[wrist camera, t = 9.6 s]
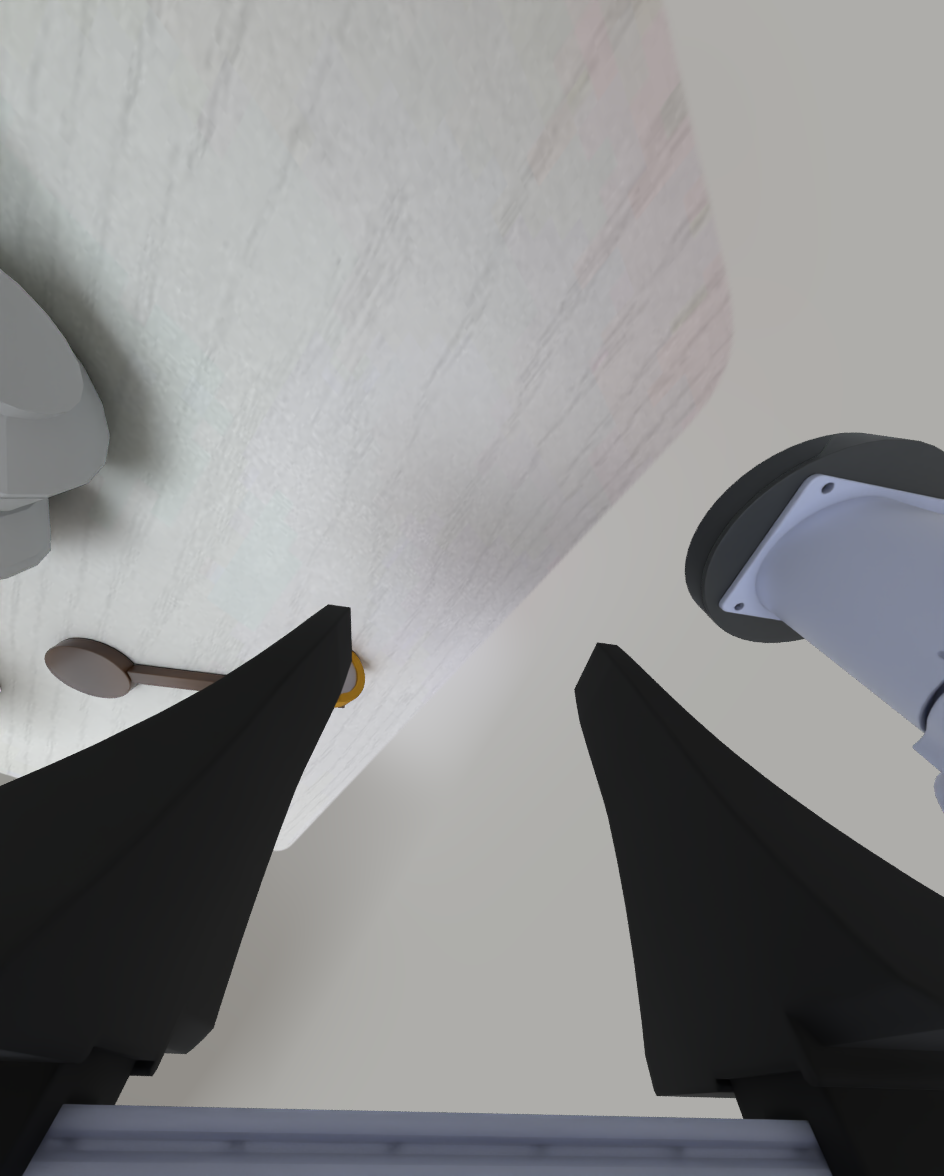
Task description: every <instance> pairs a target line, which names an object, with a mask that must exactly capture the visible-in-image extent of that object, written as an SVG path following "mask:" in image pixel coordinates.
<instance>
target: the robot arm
mask: <svg viewBox="0 0 944 1176" xmlns="http://www.w3.org/2000/svg"><path fill="white" fill-rule="evenodd" d="M826 484H827V485H826ZM825 485H826V487H825V488H824V489H823V490H822V488H823V487H824V486H825ZM737 604H738V605H737ZM719 607H720V608H721V609H722V610H723V611H726V612H731V613H737V614H744V615H750V616H756V617H762V618H769V619H775V620H781V621H783V622H784V623H786V624H787V625H788V626H789V627H791V628H792V629H793V630H794V631H796V632H797V633H798V634H799V635H801V636H802V637H803V638H805V639H806V640H807V641H808V642H810V643H811V644H812V645H813V646H815V647H816V648H817V649H819V650H820V651H821V652H823V653H824V654H825V655H826V656H827V657H829V658H830V659H831V660H832V661H834V662H835V663H836V664H837V665H839V666H840V667H841V668H842V669H844V670H845V671H846V672H848V673H849V674H850V675H851V676H853V677H854V678H855V679H856V680H858V681H859V682H860V683H861V684H863V685H864V686H865V687H867V688H868V689H869V690H870V691H872V692H873V693H874V694H875V695H877V696H878V697H879V698H881V699H882V700H883V701H884V702H886V703H887V704H888V705H889V706H891V707H892V708H893V709H894V710H896V711H897V712H898V713H900V714H901V715H902V716H903V717H904V718H906V719H907V720H908V721H910V722H911V723H912V724H913V725H915V726H916V727H917V728H918V729H920V730H921V731H922V732H924V735H923V736H922V738H921V739H920V740H919V741H918V742H917V743H915V744H914V745H913V749H914V750H916V751H917V752H918V753H919V754H920V755H922V756H923V757H924V758H925V759H926V760H927V761H929V762H930V763H931V764H932V765H934V766H935V767H936V768H937V769H938V770H939V771H940V772H941V773H940V774H939V775H938V776H937V777H936V780H935V783H934V789H935V796H936V798H937V800H938V803H939V805H940V807H941V809H942V811H943V812H944V499H939V498H935V497H930V496H925V495H920V494H915V493H910V492H906V491H901V490H896V489H891V488H886V487H881V486H877V485H872V484H867V483H862V482H857V481H852V480H848V479H843V478H838V477H833V476H828V475H823V474H814V475H811V476H809V477H808V478H807V479H806V480H805V481H804V482H803V483H802V484H801V486H800V487H799V489H798V490H797V492H796V493H795V494H794V496H793V497H792V499H791V500H790V502H789V503H788V504H787V506H786V507H785V509H784V510H783V512H782V513H781V514H780V516H779V517H778V519H777V520H776V522H775V523H774V524H773V526H772V527H771V529H770V530H769V532H768V533H767V534H766V536H765V537H764V539H763V540H762V542H761V543H760V544H759V546H758V547H757V549H756V550H755V552H754V553H753V554H752V556H751V557H750V559H749V560H748V561H747V563H746V564H745V566H744V567H743V569H742V570H741V571H740V573H739V574H738V576H737V577H736V579H735V580H734V581H733V583H732V584H731V586H730V587H729V589H728V590H727V591H726V593H725V594H724V596H723V597H722V599H721V600H720V602H719ZM351 662H352V641H351V608H350V607H343V606H336V605H329V604H328V605H327V606H325V607H324V608H323V609H321V610H320V611H318V612H317V613H316V614H314V615H313V616H311V617H310V618H309V619H307V620H306V621H305V622H303V623H302V624H301V625H299V626H298V627H297V628H295V629H294V630H292V631H291V632H290V633H288V634H287V635H286V636H284V637H283V638H281V639H280V640H278V641H277V642H276V643H274V644H273V645H271V646H270V647H268V648H267V649H266V650H264V651H263V652H261V653H260V654H258V655H257V656H255V657H254V658H252V659H251V660H249V661H248V662H246V663H245V664H243V665H241V666H240V667H238V668H237V669H235V670H234V671H232V672H231V673H229V674H227V675H226V676H224V677H223V678H221V679H219V680H218V681H216V682H214V683H213V684H211V685H209V686H207V687H206V688H204V689H202V690H201V691H199V692H197V693H195V694H193V695H192V696H190V697H188V698H186V699H184V700H182V701H181V702H179V703H177V704H175V705H173V706H172V707H170V708H168V709H166V710H164V711H162V712H160V713H158V714H156V715H154V716H152V717H150V718H148V719H146V720H144V721H142V722H140V723H138V724H136V725H134V726H132V727H130V728H128V729H126V730H124V731H121V732H119V733H117V734H115V735H113V736H111V737H109V738H107V739H105V740H103V741H101V742H99V743H97V744H95V745H93V746H91V747H88V748H86V749H84V750H82V751H80V752H77V753H75V754H73V755H71V756H68V757H66V758H64V759H62V760H59V761H57V762H55V763H53V764H51V765H48V766H46V767H44V768H41V769H39V770H37V771H34V772H32V773H30V774H27V775H25V776H23V777H20V778H18V779H15V780H13V781H11V782H8V783H6V784H4V785H1V786H0V1176H944V897H943V896H941V895H939V894H938V893H936V892H934V891H933V890H931V889H929V888H928V887H926V886H924V885H923V884H921V883H919V882H918V881H916V880H915V879H913V878H911V877H910V876H908V875H907V874H905V873H903V872H902V871H900V870H899V869H897V868H896V867H894V866H893V865H891V864H889V863H888V862H886V861H885V860H883V859H882V858H880V857H879V856H877V855H876V854H874V853H873V852H871V851H869V850H868V849H866V848H865V847H863V846H862V845H860V844H858V843H857V842H856V841H854V840H852V839H851V838H850V837H848V836H847V835H845V834H844V833H842V832H841V831H839V830H838V829H836V828H835V827H833V826H832V825H830V824H829V823H828V822H826V821H825V820H823V819H822V818H820V817H819V816H818V815H816V814H815V813H814V812H812V811H811V810H809V809H808V808H807V807H805V806H804V805H802V804H801V803H799V802H798V801H797V800H795V799H794V798H792V797H791V796H790V795H788V794H787V793H786V792H784V791H783V790H782V789H780V788H779V787H778V786H776V785H775V784H773V783H772V782H771V781H770V780H768V779H767V778H765V777H764V776H763V775H762V774H761V773H759V772H758V771H757V770H755V769H754V768H753V767H752V766H750V765H749V764H748V763H747V762H745V761H744V760H743V759H742V758H740V757H739V756H738V755H737V754H735V753H734V752H733V751H732V750H730V749H729V748H728V747H727V746H726V745H725V744H723V743H722V742H721V741H720V740H719V739H717V738H716V737H715V736H714V735H713V734H712V733H711V732H709V731H708V730H707V729H706V728H705V727H704V726H703V725H702V724H700V723H699V722H698V721H697V720H696V719H695V718H694V717H693V716H692V715H690V714H689V713H688V712H687V711H686V710H685V709H684V708H683V707H682V706H681V705H679V703H678V702H676V701H675V700H674V699H673V698H672V697H671V696H670V695H669V694H668V693H667V692H666V691H665V690H664V689H663V688H662V687H661V686H660V685H659V684H658V683H656V681H654V679H652V678H651V677H650V676H649V675H648V674H647V673H646V672H645V671H644V670H643V669H642V668H641V667H640V666H639V665H638V664H637V663H636V662H635V661H634V660H633V659H632V658H631V657H630V656H629V655H628V654H626V653H625V652H624V651H623V650H622V649H621V648H620V647H618V646H617V645H611V644H605V643H597V644H596V646H595V649H594V650H593V652H592V654H591V656H590V659H589V661H588V663H587V665H586V667H585V669H584V671H583V673H582V675H581V677H580V679H579V681H578V684H577V685H576V687H575V689H574V690H575V697H576V703H577V709H578V715H579V720H580V724H581V728H582V731H583V734H584V738H585V741H586V745H587V748H588V752H589V755H590V758H591V761H592V765H593V768H594V771H595V774H596V777H597V781H598V784H599V787H600V791H601V794H602V797H603V800H604V804H605V808H606V812H607V815H608V819H609V824H610V829H611V833H612V838H613V843H614V847H615V852H616V858H617V863H618V867H619V873H620V879H621V884H622V890H623V895H624V901H625V906H626V912H627V919H628V924H629V932H630V938H631V945H632V951H633V958H634V964H635V973H636V981H637V988H638V995H639V1004H640V1012H641V1020H642V1029H643V1039H644V1048H645V1056H646V1060H647V1064H648V1068H649V1072H650V1076H651V1080H652V1084H653V1088H654V1091H655V1093H656V1095H657V1096H680V1097H715V1098H736V1100H737V1102H738V1105H739V1108H740V1111H741V1113H742V1116H743V1119H720V1118H718V1119H717V1118H675V1117H629V1116H628V1117H627V1116H583V1115H580V1116H579V1115H538V1114H537V1115H536V1114H492V1113H446V1112H401V1111H356V1110H355V1111H352V1110H310V1109H263V1108H219V1107H216V1108H215V1107H172V1106H126V1105H115V1103H116V1101H117V1099H118V1097H119V1095H120V1093H121V1091H122V1089H123V1087H124V1085H125V1083H126V1081H127V1079H128V1077H129V1075H130V1076H153V1074H154V1073H155V1071H156V1070H157V1068H158V1066H159V1064H160V1062H161V1059H162V1057H163V1055H164V1053H174V1054H187V1053H188V1052H189V1051H191V1050H192V1049H193V1048H194V1047H195V1046H196V1045H197V1044H198V1043H199V1042H200V1041H202V1040H203V1039H204V1038H205V1037H206V1036H207V1034H208V1033H209V1032H210V1031H211V1030H212V1029H213V1028H214V1025H215V1022H216V1019H217V1015H218V1012H219V1009H220V1005H221V1003H222V999H223V996H224V993H225V990H226V987H227V984H228V981H229V978H230V975H231V972H232V969H233V965H234V962H235V959H236V956H237V953H238V950H239V947H240V944H241V940H242V938H243V935H244V932H245V929H246V926H247V923H248V920H249V917H250V914H251V911H252V908H253V906H254V902H255V900H256V897H257V894H258V891H259V888H260V885H261V882H262V879H263V877H264V874H265V871H266V868H267V865H268V863H269V860H270V857H271V854H272V852H273V849H274V846H275V843H276V840H277V838H278V835H279V832H280V829H281V827H282V824H283V822H284V819H285V816H286V814H287V811H288V808H289V806H290V803H291V800H292V798H293V795H294V792H295V790H296V787H297V785H298V783H299V781H300V778H301V776H302V774H303V771H304V769H305V767H306V765H307V763H308V761H309V759H310V757H311V755H312V753H313V751H314V749H315V746H316V744H317V742H318V740H319V738H320V736H321V734H322V732H323V730H324V728H325V726H326V724H327V722H328V720H329V718H330V715H331V713H332V711H333V709H334V707H335V705H336V703H337V701H338V699H339V696H340V694H341V692H342V689H343V686H344V683H345V680H346V678H347V675H348V671H349V668H350V665H351Z"/></svg>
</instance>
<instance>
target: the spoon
mask: <svg viewBox="0 0 944 1176" xmlns="http://www.w3.org/2000/svg"><path fill="white" fill-rule="evenodd" d="M45 663H46V665H47V667H48V669H49V670H50V671H51V673H52V674H53V675H54V676H56V677H57V678H58V679H59V680H60V681H62V682H63V683H65V684H66V685H68V686H70V687H72V688H74V689H76V690H78V691H80V692H83V693H86V694H88V695H92V696H96V697H102V698H117V697H121V696H124V695H126V694H127V693H128V692H129V691H130V690H131V689H133V688H134V687H135V686H136V685H137V684H145V685H154V686H162V687H170V688H179V689H187V690H196V691H201V690H202V689H204V688H206V687H207V686H209V685H211V684H213V683H214V682H216V681H218V680H219V679H221V678H223V677H224V675H216V674H208V673H200V672H192V671H184V670H176V669H168V668H160V667H152V666H144V665H134V664H133V663H132V662H131V661H130V660H129V659H128V658H127V657H126V656H124V655H123V654H122V653H120V652H119V651H117V650H115V649H113V648H112V647H109V646H107V645H105V644H102V643H100V642H97V641H93V640H89V639H81V638H73V639H67V640H64V641H62V642H60V643H59V644H57V645H56V646H54V647H52V648H51V649H49V650H48V651H47V653H46V654H45ZM344 707H345V705H344V706H341V707H338V708H344Z"/></svg>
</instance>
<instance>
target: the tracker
mask: <svg viewBox="0 0 944 1176" xmlns="http://www.w3.org/2000/svg"><path fill="white" fill-rule="evenodd" d="M364 684H365V673H364V669H363V666H362V664H361V662H360V660H359V658H358V657H357V655H356V654H355V653H354V652H353V651H352V662H351V665H350V668H349V671H348V675H347V678H346V680H345V683H344V686H343V689H342V692H341V694H340V696H339V699H338V701H337V703H336V705H335V707H334V708H336V707H341V706H344V705H346V704H347V703H349V702H350V701H352V700H354V699H355V698H357V697H358V696H359V695H360V693H361V692H362V690H363V688H364Z"/></svg>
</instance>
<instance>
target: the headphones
mask: <svg viewBox="0 0 944 1176" xmlns="http://www.w3.org/2000/svg"><path fill="white" fill-rule="evenodd" d="M109 440H110V434H109V430H108V426H107V421H106V417H105V412H104V408H103V404H102V402H101V400H100V398H99V396H98V394H97V392H96V390H95V388H94V386H93V384H92V382H91V380H90V378H89V376H88V374H87V372H86V370H85V368H84V366H83V365H82V364H81V362H80V361H79V360H78V358H77V357H76V355H75V354H74V353H73V351H72V350H71V348H70V346H69V344H68V342H67V340H66V339H65V337H64V336H63V335H62V333H61V332H60V331H59V329H58V328H57V327H56V325H55V324H54V323H53V321H52V320H51V318H50V317H49V316H48V314H47V313H46V312H45V311H44V310H43V309H42V308H41V307H40V306H39V305H38V304H37V303H36V302H35V301H34V300H33V298H32V297H31V296H30V295H29V294H28V293H27V292H26V291H25V290H24V289H23V288H22V287H21V286H20V285H19V284H18V283H17V282H15V281H14V280H13V279H12V278H11V277H9V276H8V275H7V274H6V273H5V272H3V271H2V270H1V269H0V580H1V579H6V578H9V577H11V576H14V575H16V574H18V573H20V572H23V571H25V570H27V569H30V568H32V567H34V566H36V565H38V564H39V563H40V562H41V561H42V559H43V558H44V557H45V556H46V555H47V554H48V553H49V552H50V551H51V543H50V541H51V529H50V515H49V503H48V497H51V496H54V495H57V494H60V493H62V492H65V491H68V490H71V489H74V488H77V487H79V486H82V485H85V484H87V483H89V481H90V480H91V479H92V478H93V477H94V476H95V475H96V474H97V472H98V471H99V470H100V469H101V468H102V467H103V466H104V464H105V463H106V457H107V451H108V445H109Z"/></svg>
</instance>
